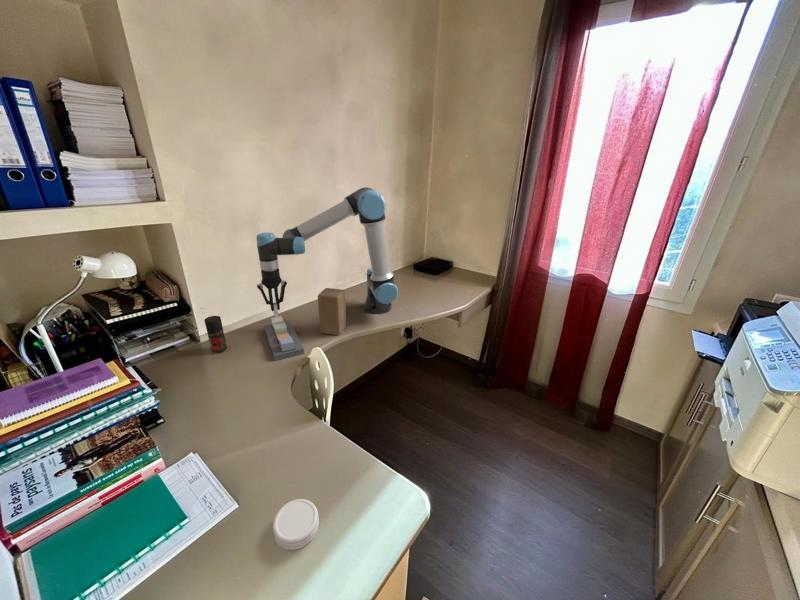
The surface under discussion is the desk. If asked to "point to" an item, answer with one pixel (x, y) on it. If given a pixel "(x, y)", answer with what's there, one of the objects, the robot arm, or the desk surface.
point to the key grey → (276, 321)
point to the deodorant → (215, 334)
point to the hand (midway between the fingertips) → (276, 316)
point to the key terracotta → (282, 336)
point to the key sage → (280, 328)
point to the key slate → (286, 343)
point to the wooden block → (332, 311)
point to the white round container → (296, 524)
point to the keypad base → (276, 347)
